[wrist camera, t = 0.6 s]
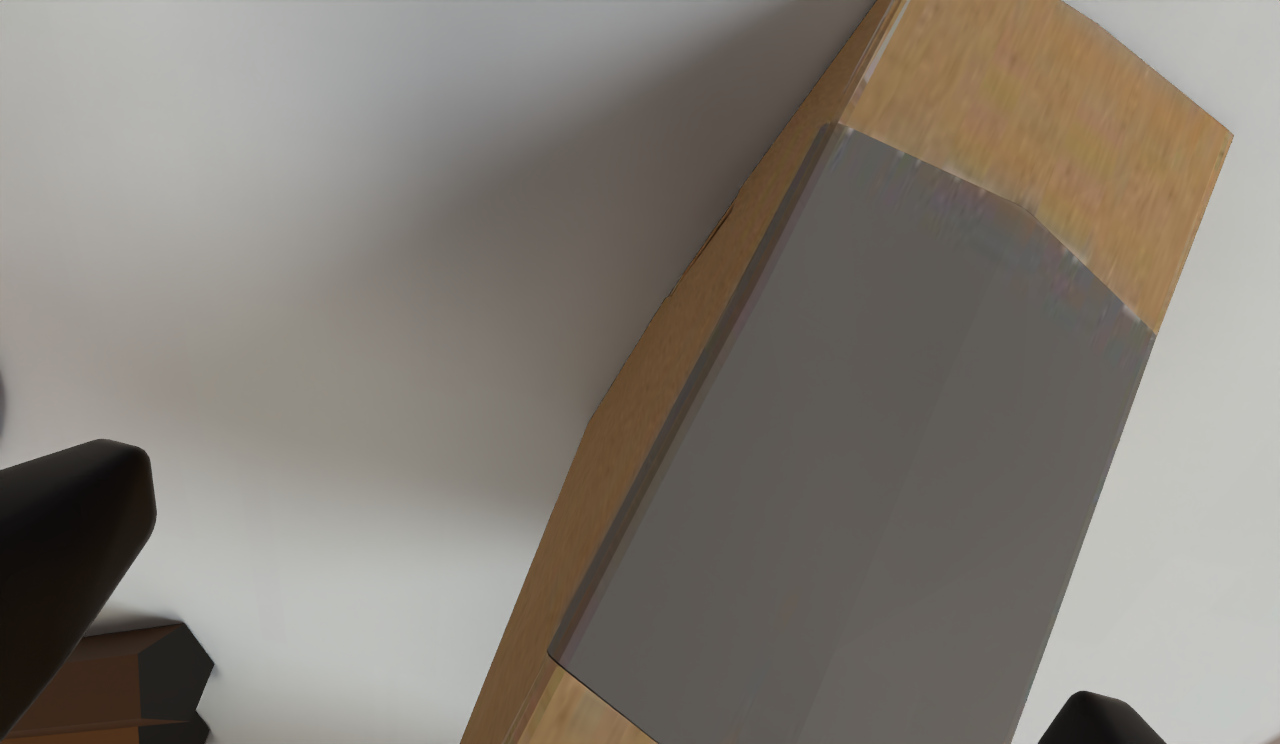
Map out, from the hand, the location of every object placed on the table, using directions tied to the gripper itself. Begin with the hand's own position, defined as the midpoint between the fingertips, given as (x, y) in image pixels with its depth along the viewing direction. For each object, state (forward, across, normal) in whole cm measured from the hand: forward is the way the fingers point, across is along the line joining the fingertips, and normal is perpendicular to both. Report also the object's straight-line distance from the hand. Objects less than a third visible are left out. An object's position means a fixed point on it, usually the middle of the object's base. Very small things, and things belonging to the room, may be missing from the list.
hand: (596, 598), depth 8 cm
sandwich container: (+14, -5, +2) cm, 15 cm away
